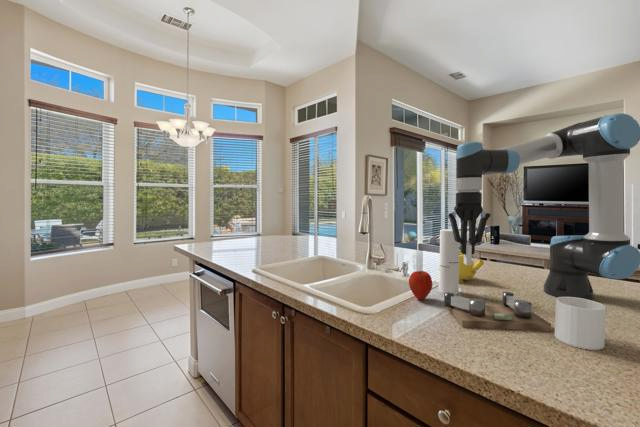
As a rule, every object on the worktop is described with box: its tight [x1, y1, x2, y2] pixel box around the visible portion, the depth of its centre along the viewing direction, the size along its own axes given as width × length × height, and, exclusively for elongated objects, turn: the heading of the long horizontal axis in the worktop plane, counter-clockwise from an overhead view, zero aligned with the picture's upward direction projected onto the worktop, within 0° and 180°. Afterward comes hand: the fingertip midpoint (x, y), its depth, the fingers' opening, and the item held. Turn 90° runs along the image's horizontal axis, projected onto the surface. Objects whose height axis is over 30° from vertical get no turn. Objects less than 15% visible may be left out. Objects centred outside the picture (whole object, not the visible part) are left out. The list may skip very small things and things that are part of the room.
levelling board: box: [447, 304, 552, 332], centre depth 95 cm, size 24×14×4 cm, turn 83°
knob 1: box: [443, 292, 487, 317], centre depth 97 cm, size 13×4×4 cm, turn 39°
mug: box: [554, 297, 607, 351], centre depth 81 cm, size 13×10×10 cm
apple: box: [408, 270, 433, 301], centre depth 114 cm, size 9×8×11 cm
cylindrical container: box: [438, 228, 461, 296], centre depth 122 cm, size 7×7×25 cm
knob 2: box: [502, 291, 533, 318], centre depth 96 cm, size 13×4×4 cm, turn 173°
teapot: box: [438, 249, 485, 284], centre depth 139 cm, size 20×16×14 cm
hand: (467, 264), depth 99 cm, fingers closed
